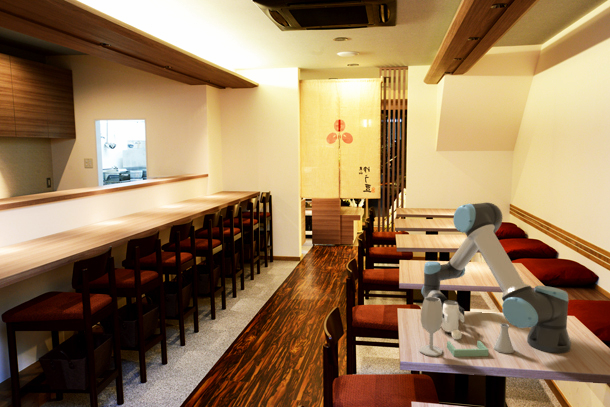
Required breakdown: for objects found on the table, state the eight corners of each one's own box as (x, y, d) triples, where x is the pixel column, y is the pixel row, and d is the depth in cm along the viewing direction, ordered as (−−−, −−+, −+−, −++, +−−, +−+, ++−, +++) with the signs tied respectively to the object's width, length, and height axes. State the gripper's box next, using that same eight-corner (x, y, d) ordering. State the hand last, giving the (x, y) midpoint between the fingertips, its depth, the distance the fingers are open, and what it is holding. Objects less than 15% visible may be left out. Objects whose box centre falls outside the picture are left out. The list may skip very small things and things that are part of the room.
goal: (446, 347, 175) (446, 341, 174) (479, 346, 175) (479, 340, 175) (453, 356, 167) (454, 350, 166) (488, 356, 167) (488, 349, 167)
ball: (462, 338, 183) (463, 329, 182) (460, 342, 180) (460, 332, 179) (452, 336, 185) (453, 327, 185) (450, 339, 182) (450, 330, 181)
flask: (510, 346, 175) (511, 321, 174) (516, 354, 168) (518, 328, 167) (491, 345, 176) (491, 321, 175) (497, 353, 169) (498, 328, 168)
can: (458, 333, 185) (458, 305, 183) (441, 331, 187) (442, 304, 186) (458, 327, 191) (459, 300, 189) (442, 326, 193) (443, 299, 192)
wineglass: (415, 352, 171) (416, 299, 168) (425, 345, 177) (426, 293, 175) (436, 359, 165) (438, 304, 163) (446, 351, 172) (447, 298, 169)
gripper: (457, 308, 207) (477, 327, 184) (417, 308, 206) (432, 328, 183) (458, 292, 206) (478, 310, 183) (417, 293, 205) (433, 310, 182)
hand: (455, 319), depth 183 cm, fingers closed on can, 6 cm apart
